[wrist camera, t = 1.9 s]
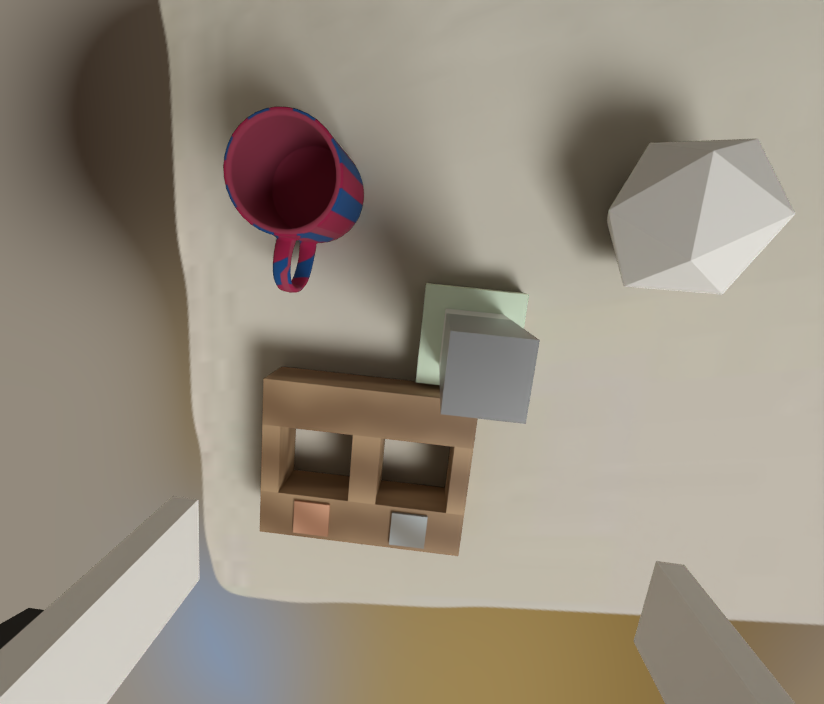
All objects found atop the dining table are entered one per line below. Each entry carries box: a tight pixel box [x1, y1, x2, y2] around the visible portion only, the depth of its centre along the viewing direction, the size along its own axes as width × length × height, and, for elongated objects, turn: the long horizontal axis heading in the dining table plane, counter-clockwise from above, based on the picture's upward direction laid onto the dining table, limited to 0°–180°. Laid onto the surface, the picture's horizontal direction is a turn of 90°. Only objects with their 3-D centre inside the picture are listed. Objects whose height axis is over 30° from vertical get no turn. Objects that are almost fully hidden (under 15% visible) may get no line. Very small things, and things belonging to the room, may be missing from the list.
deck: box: [416, 283, 529, 385], centre depth 30 cm, size 7×7×2 cm
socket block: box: [260, 367, 478, 556], centre depth 31 cm, size 12×15×4 cm
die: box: [607, 139, 795, 294], centre depth 25 cm, size 8×9×10 cm
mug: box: [223, 107, 364, 293], centre depth 26 cm, size 7×10×7 cm
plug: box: [439, 308, 540, 424], centre depth 24 cm, size 4×4×10 cm
